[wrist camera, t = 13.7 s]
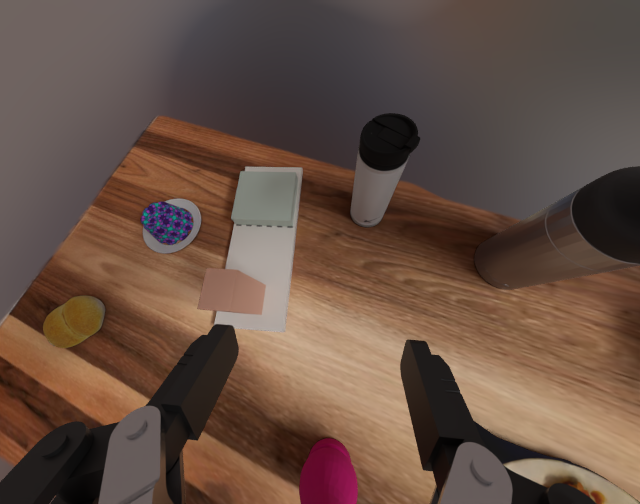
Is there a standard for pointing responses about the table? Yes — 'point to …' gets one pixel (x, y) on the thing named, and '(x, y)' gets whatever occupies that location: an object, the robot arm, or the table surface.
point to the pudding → (170, 224)
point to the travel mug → (380, 165)
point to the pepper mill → (328, 475)
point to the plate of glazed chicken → (554, 470)
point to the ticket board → (265, 241)
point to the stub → (231, 292)
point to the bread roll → (74, 321)
